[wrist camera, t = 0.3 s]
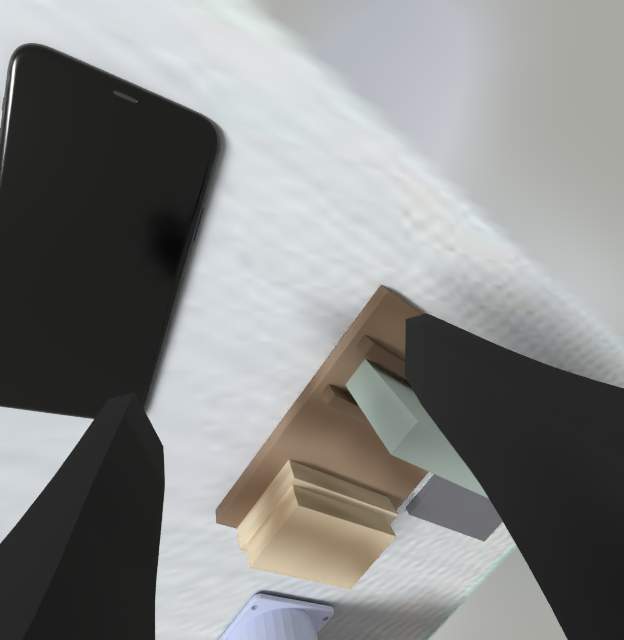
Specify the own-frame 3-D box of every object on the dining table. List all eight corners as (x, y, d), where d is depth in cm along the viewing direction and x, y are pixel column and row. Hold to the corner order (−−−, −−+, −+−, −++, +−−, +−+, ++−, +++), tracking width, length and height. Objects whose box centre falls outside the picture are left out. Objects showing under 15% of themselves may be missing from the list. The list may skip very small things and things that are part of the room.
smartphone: (143, 417, 22) (226, 125, 17) (141, 428, 21) (228, 124, 16) (-28, 394, 19) (18, 34, 14) (-38, 404, 18) (7, 27, 13)
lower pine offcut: (340, 555, 29) (347, 574, 27) (236, 528, 25) (239, 549, 23) (388, 497, 28) (398, 514, 26) (288, 459, 24) (294, 477, 22)
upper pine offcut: (342, 568, 27) (350, 589, 26) (246, 544, 23) (249, 567, 22) (385, 517, 26) (396, 536, 25) (292, 484, 23) (298, 505, 21)
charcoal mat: (479, 535, 34) (484, 541, 34) (405, 508, 30) (409, 514, 30) (570, 435, 32) (577, 440, 32) (505, 390, 28) (511, 395, 28)
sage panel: (440, 434, 27) (501, 504, 21) (345, 385, 23) (390, 454, 17) (458, 412, 26) (525, 478, 21) (365, 358, 22) (418, 421, 17)
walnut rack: (350, 547, 30) (360, 574, 28) (215, 510, 25) (217, 539, 23) (498, 369, 27) (522, 385, 25) (381, 284, 22) (399, 297, 20)
